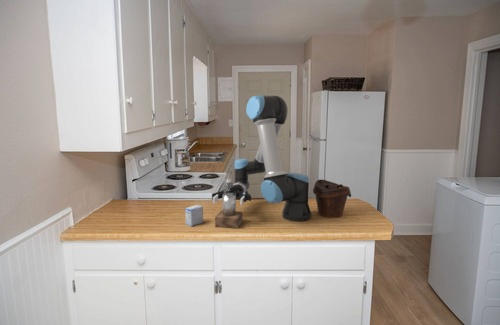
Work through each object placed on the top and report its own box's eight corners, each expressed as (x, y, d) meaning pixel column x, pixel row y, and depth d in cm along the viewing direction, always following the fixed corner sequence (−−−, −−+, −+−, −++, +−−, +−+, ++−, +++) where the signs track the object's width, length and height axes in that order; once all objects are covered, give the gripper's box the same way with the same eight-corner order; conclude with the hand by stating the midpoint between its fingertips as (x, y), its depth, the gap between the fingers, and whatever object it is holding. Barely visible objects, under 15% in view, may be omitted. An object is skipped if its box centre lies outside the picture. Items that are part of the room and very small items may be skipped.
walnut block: (242, 221, 176) (242, 211, 175) (237, 228, 165) (237, 218, 164) (221, 219, 178) (221, 210, 177) (215, 227, 167) (215, 217, 166)
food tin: (237, 212, 173) (237, 193, 171) (234, 216, 167) (234, 196, 165) (224, 211, 174) (224, 192, 173) (220, 215, 168) (220, 195, 166)
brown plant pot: (351, 220, 176) (353, 186, 173) (311, 218, 180) (312, 184, 177) (348, 210, 193) (350, 179, 191) (312, 208, 197) (313, 178, 195)
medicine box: (197, 220, 176) (197, 204, 175) (203, 222, 173) (203, 206, 172) (185, 224, 170) (184, 208, 169) (191, 227, 167) (190, 209, 166)
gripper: (260, 198, 185) (252, 210, 164) (215, 196, 190) (202, 207, 169) (260, 184, 184) (252, 195, 163) (215, 182, 188) (202, 192, 168)
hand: (227, 201), depth 166 cm, fingers open, 13 cm apart
